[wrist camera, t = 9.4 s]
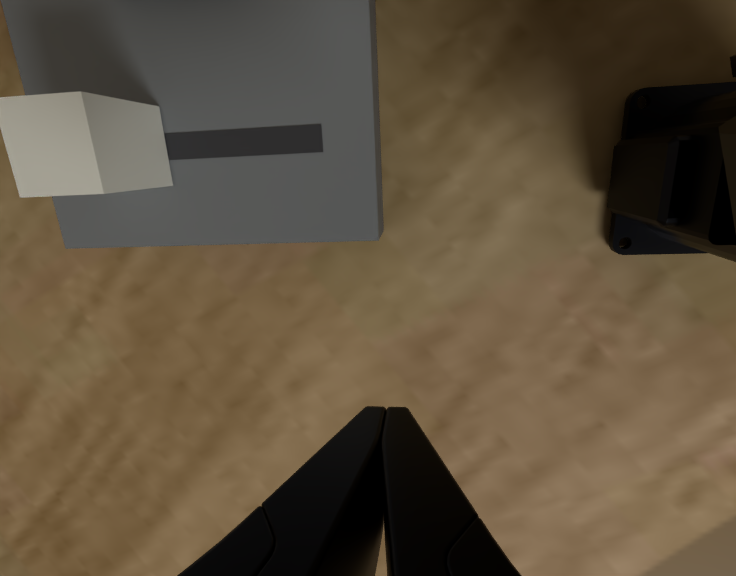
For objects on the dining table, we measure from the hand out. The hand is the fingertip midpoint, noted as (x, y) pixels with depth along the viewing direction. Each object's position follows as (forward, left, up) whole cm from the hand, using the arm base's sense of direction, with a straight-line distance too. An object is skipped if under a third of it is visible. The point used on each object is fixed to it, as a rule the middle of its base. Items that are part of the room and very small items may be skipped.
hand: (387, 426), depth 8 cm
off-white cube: (+11, -6, -9) cm, 16 cm away
